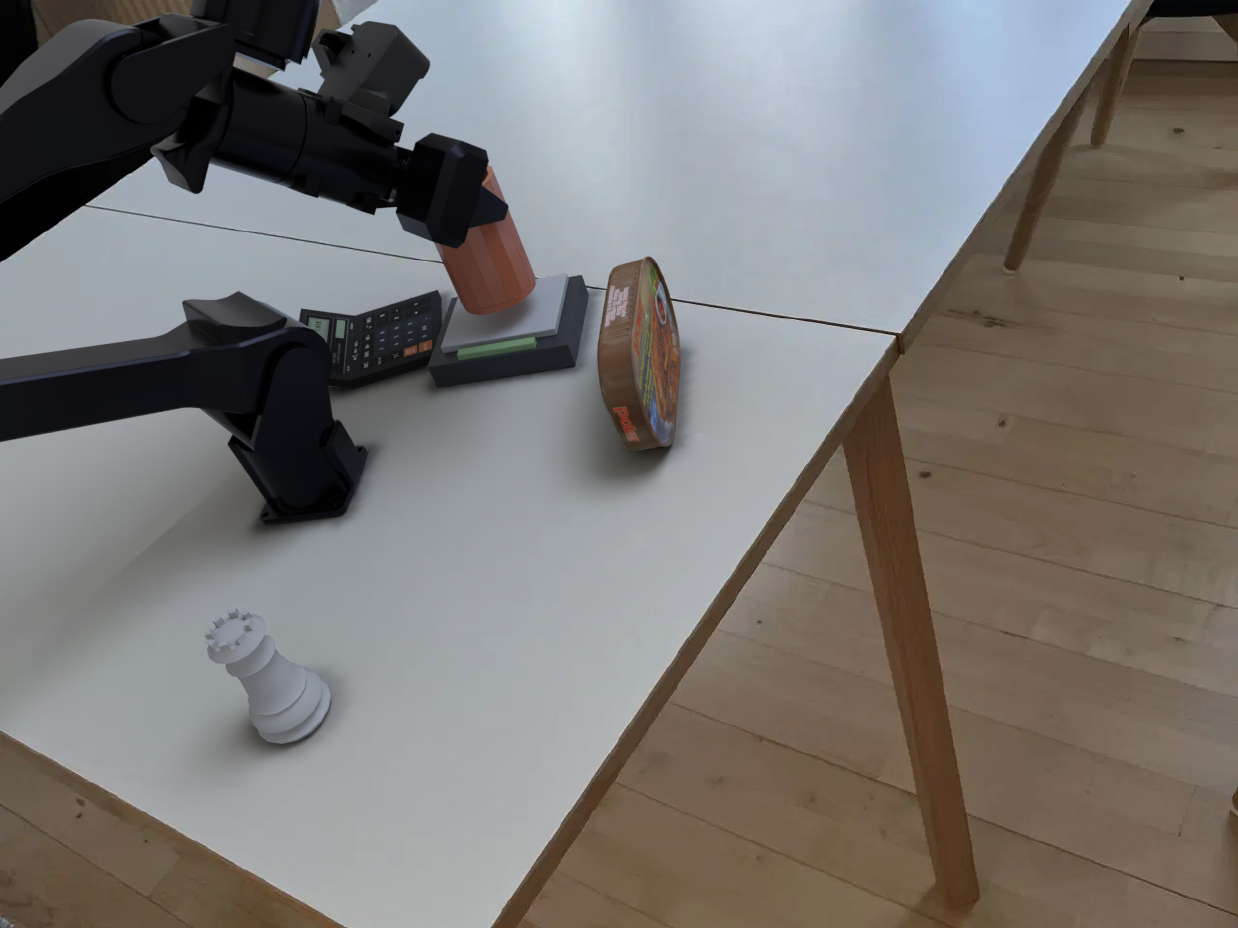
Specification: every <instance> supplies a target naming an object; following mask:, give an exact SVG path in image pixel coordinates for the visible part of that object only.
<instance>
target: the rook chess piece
mask: <svg viewBox="0 0 1238 928" xmlns="http://www.w3.org/2000/svg"><path fill="white" fill-rule="evenodd" d="M227 615H228V617H226V618H222V616H221V615H220V614H218V615H217V616H216V617H215V618H213V620H211V623H212V624H213V625H214V626H215V627H214V629H213V628H206V629H205V633H204V638H205V639H206V640H207V641H206V644H207V650H206V651H207V656H208V658H209V659H210V660H211V661H212V662H214V663H215V664H219V665H225V670H226V673H227V674H229V675H230V676H231V677H233V678H237V679H238V681H239V682H240V683H241V685H242V687H243V688H244V691H245V693H246V694H247V703H248V714H249V717H250V720H251V723H252V726H253V727H255V728H256V729H257V731H258V735H259V736H260V737H262V738H263V739H264V740H265V741H266V742H267V743H274V744H289V743H294V742H297V741H300V740H302V739H304V738H305V737H307V736H309V735H311V734H312V733H313V732H314V731H315V730H316V729H317V728H318V727H319V726H321V724H322V723H323V721H324V719H325V717H326V715H327V714H328V712H329V708H330V702H331V695H332V693H331V690H330V688H329V685H328V683H327V682H326V681H324V680H323V679H322V678H321V676H320V674H318V673H317V672H316V671H314V670H313V669H311V668H310V667H308V666H305V665H304V666H303V665H300V664H298V663H294V662H293V663H292V662H290V661H289V660H288V659H287V658H286V657H285V656H283V655H282V654H281V653H280V652H279V651H278V649H277V648H276V643H275V640H274V638H273V637H271V636H270V635H269V634H266V630H267V625H266V622H265V619H264V618H263V617H262V616H260V615H259V614H255V613H250V612H249V611H248V610H247V609H245V608H243V609H242V610H241V611H240V610H239V609H238V608H237V607H234V608H230V609H227Z"/></svg>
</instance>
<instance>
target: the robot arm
mask: <svg viewBox="0 0 1238 928" xmlns="http://www.w3.org/2000/svg"><path fill="white" fill-rule="evenodd" d="M322 3H323V0H192V2H191V7H190V11H189V15H188V14H182V13H178V12H172V11H171V12H167V13H161V15H159V16H158V15H157V16H155V17H151V18H149V19H144V20H142V21H138V22H135V23H132V24H129V25H126V24H122V23H117V22H114V21H109V20H105V19H98V18H89V19H86V18H85V19H82V20H77V21H74V22H72V23H69V24H67V26H65V27H64V28H62V29H60V31H58V32H57V33H56V34H54V36H53V37H51V38H49V40H47V41H46V42H45V43H44V44H43V45H41V46H40V48H38V49H37V50H36V51H35V52H33V53H32V54H31V55H29V56H28V57H27V58H26V59H25V60H24V61H23V62H21V63H20V64H19V66H18V67H17V68H16V69H15V70H14V71H13V72H12V74H11V75H10V76H9V77H8V78H7V80H6V81H5V82H4V83H3V85H2V86H1V87H0V204H2V203H4V202H5V201H7V200H8V199H10V198H13V196H15V195H17V194H18V193H20V192H22V191H24V190H26V189H27V188H29V187H30V186H32V185H34V184H36V183H37V182H39V181H41V180H42V179H44V178H48V177H50V176H52V175H54V174H57V173H60V172H63V171H67V170H70V169H73V168H78V167H82V166H87V165H91V164H96V163H100V162H105V161H109V160H113V159H115V158H118V157H121V156H123V155H126V154H129V153H131V152H135V151H137V150H139V149H143V148H145V147H147V146H150V145H152V146H151V147H150V153H151V154H152V155H153V157H155V158H156V159H157V160H158V161H159V163H160V165H161V167H162V170H163V172H164V174H165V176H166V179H167V182H169V183H170V184H172V185H174V186H176V187H178V188H181V189H183V190H185V191H187V192H189V193H191V194H193V195H199V194H201V193H202V192H203V190H204V186H205V183H206V179H207V174H208V171H209V166H210V165H213V166H217V167H219V168H222V169H226V170H229V171H232V172H236V173H238V174H243V175H246V176H248V177H251V178H255V179H257V180H258V179H259V180H262V181H266V182H268V183H272V184H275V185H279V186H281V187H285V188H287V189H290V190H292V191H295V192H298V193H300V194H302V195H306V196H309V197H312V198H315V199H319V198H321V199H324V200H327V201H330V202H334V203H337V204H341V205H344V206H346V207H349V208H351V209H353V210H356V211H359V212H361V213H365V214H369V215H371V216H376V211H377V209H388V208H389V209H390V208H396V209H395V215H396V218H397V219H398V221H399V224H400V226H401V228H402V230H403V231H404V232H406V233H409V234H411V235H414V236H417V237H419V238H422V239H425V240H427V241H428V242H429V241H430V242H432V243H434V242H435V243H438V244H442V245H445V246H448V247H452V248H455V249H458V248H459V247H460V246H461V245H462V244H463V243H464V242H465V240H466V236H467V233H468V230H469V229H470V228H473V227H477V226H482V225H486V224H490V223H494V222H498V221H503V220H504V219H505V218H506V215H507V212H508V209H509V208H510V207H509V204H508V203H507V202H506V203H505V202H504V201H503V200H501V199H500V198H499V197H497V196H496V195H495V194H493V193H492V192H491V191H489V190H488V189H487V188H485V187H484V186H483V185H482V183H483V179H484V176H485V173H486V169H487V166H488V165H489V163H490V159H489V155H488V151H487V150H486V149H484V148H483V147H479V146H477V145H474V144H472V143H469V142H466V141H464V140H461V139H458V138H453V137H449V136H446V135H442V134H439V133H435V132H430V133H428V134H427V135H425V136H423V137H422V138H420V139H419V140H417V141H415V142H414V145H413V149H409V148H406V147H402V146H400V145H396V144H399V142H400V141H401V137H402V135H403V131H404V127H405V123H404V122H402V121H399V120H397V119H395V118H392V117H393V116H395V115H396V114H397V113H398V112H399V111H400V109H401V108H402V107H403V105H404V104H405V102H406V100H408V98H409V96H410V95H411V93H412V91H413V90H414V89H415V87H416V85H418V83H419V81H420V80H423V79H424V78H425V77H426V76H427V74H428V73H429V71H430V68H431V60H430V58H428V57H427V56H426V55H425V54H424V53H423V52H422V51H421V49H419V47H418V46H417V45H415V44H414V43H413V42H412V41H411V40H410V38H409V37H408V36H407V35H406V34H405V33H404V32H403V31H402V30H401V29H400V27H399V26H397V25H395V24H391V23H385V22H379V21H372V20H367V21H364V22H362V23H360V24H357V23H353V24H352V25H351V26H350V28H349V29H350V30H351V31H352V34H350V33H346V32H342V31H340V30H335V29H334V30H333V29H329V28H325V27H324V28H323V27H322V28H321V29H320V31H319V32H318V33H317V35H316V37H315V38H313V37H314V33H315V30H316V26H317V22H318V19H319V15H320V11H321V7H322ZM310 48H311V50H312V52H313V54H314V56H315V59H316V61H317V64H318V66H319V69H320V73H319V76H320V77H321V78H322V79H323V82H322V83H321V85H320V86H319V88H318V90H317V92H314V91H312V90H309V89H306V88H303V87H298V88H297V89H295V88H292V87H290V86H287V85H285V84H282V83H280V82H278V81H275V80H271V79H269V78H267V77H263V76H261V75H258V74H256V73H253V72H250V71H248V70H245V69H243V68H240V67H238V66H235V65H234V63H235V59H236V56H237V57H238V58H241V59H244V60H246V61H249V62H251V63H254V64H257V65H260V66H263V67H266V68H269V69H271V70H275V71H279V72H283V73H285V72H286V69H287V67H288V62H290V63H293V64H296V65H299V66H302V63H303V60H308V57H309V54H310ZM287 61H288V62H287ZM156 143H157V144H156ZM153 144H154V145H153ZM181 305H182V308H183V309H182V310H183V312H184V315H185V319H186V321H184V322H182V323H181V324H179V325H178V326H176V327H173V328H172V329H171V330H169V331H167V332H166V333H163V334H160V335H156V336H151V337H145V338H137V339H131V340H124V341H116V342H110V343H103V344H95V345H88V346H82V347H75V348H74V347H73V348H67V349H61V350H54V351H46V352H40V353H32V354H25V355H18V356H12V357H11V356H10V357H5V358H4V357H3V358H0V443H3V442H8V441H14V440H21V439H25V438H29V437H36V436H41V435H46V434H52V433H57V432H63V431H68V430H72V429H79V428H83V427H89V426H93V425H94V426H95V425H99V424H104V423H110V422H111V423H112V422H115V421H121V420H127V419H132V418H137V417H143V416H147V415H153V414H154V415H155V414H159V413H164V412H169V411H175V410H180V409H199V410H200V411H202V412H203V413H204V414H205V415H207V416H208V417H210V418H211V419H212V420H213V421H215V422H216V423H217V424H219V425H220V426H221V427H222V428H224V429H225V430H227V431H228V433H230V434H231V436H230V438H229V440H228V442H227V447H228V448H229V450H230V451H231V452H232V454H233V455H234V457H235V458H236V460H237V462H238V463H239V464H240V466H241V467H242V468H243V470H244V472H245V473H246V475H247V476H248V477H249V478H250V481H251V482H252V483H253V485H254V486H255V487H256V489H257V490H258V492H259V494H261V496H262V498H263V499H264V501H265V503H264V504H263V507H262V509H261V511H260V513H259V516H258V519H259V521H260V522H261V523H262V524H263V525H270V524H271V525H272V524H277V523H278V524H279V523H285V522H286V523H287V522H293V521H301V520H302V521H303V520H309V519H310V520H311V519H316V518H326V517H332V516H339V515H342V514H344V513H345V512H346V511H347V509H348V507H349V503H350V501H351V499H352V496H353V493H354V490H355V487H356V485H357V483H358V480H359V477H360V475H361V472H362V469H363V467H364V464H365V461H366V459H367V456H368V454H369V452H368V450H367V448H366V446H365V445H355V442H354V441H353V439H352V437H351V436H350V434H349V432H348V430H347V429H346V428H345V426H344V424H343V422H342V421H341V420H340V419H335V418H334V417H333V410H332V409H333V408H332V402H331V395H330V388H329V386H328V380H329V378H330V375H331V368H332V358H331V352H330V348H329V347H328V345H327V343H326V341H325V340H324V338H323V337H322V336H321V335H319V334H318V333H317V332H316V331H315V330H313V329H311V328H310V327H308V326H306V325H304V324H302V323H301V322H299V320H297V319H295V318H293V317H291V315H288V314H287V313H285V312H283V311H281V310H280V309H278V308H276V307H274V306H272V305H270V304H268V303H267V302H263V301H261V300H257V299H254V298H253V297H251V296H249V295H247V294H245V293H244V292H242V291H240V290H237V291H235V292H234V293H231V295H228V296H226V297H225V296H224V297H221V298H218V299H196V298H191V299H183V301H182V302H181Z"/></svg>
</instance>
